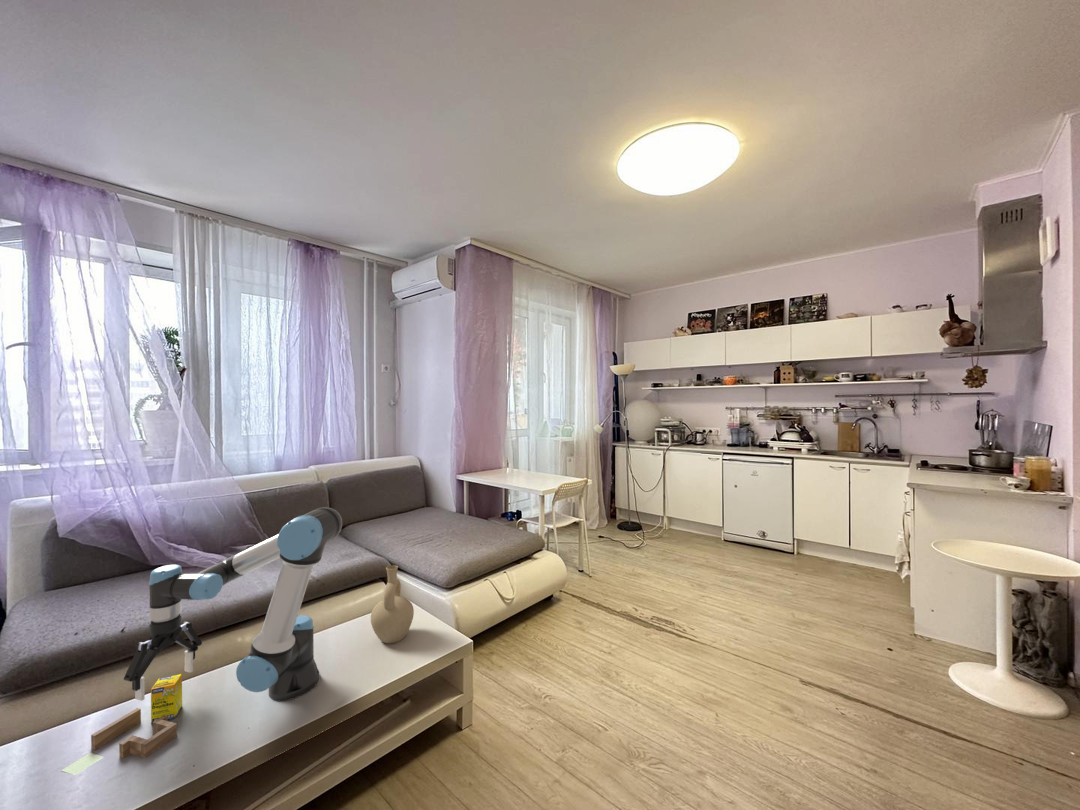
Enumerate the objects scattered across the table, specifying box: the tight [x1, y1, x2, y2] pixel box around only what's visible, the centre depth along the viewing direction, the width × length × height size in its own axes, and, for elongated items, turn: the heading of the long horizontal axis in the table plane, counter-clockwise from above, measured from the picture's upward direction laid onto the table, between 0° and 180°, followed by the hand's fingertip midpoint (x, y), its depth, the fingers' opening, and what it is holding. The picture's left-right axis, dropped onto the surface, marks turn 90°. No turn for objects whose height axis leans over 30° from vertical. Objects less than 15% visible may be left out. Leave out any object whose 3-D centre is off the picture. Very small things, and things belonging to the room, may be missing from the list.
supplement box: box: [150, 673, 183, 725], centre depth 133 cm, size 6×6×11 cm
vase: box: [370, 564, 415, 644], centre depth 174 cm, size 17×17×30 cm
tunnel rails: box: [90, 707, 178, 759], centre depth 123 cm, size 19×11×4 cm, turn 74°
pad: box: [61, 752, 104, 776], centre depth 114 cm, size 10×6×1 cm, turn 74°
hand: (165, 684), depth 133 cm, fingers open, 13 cm apart
